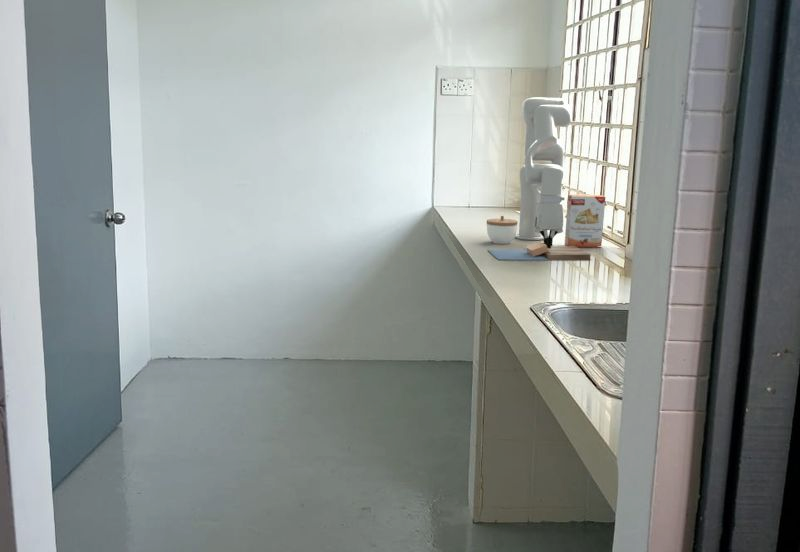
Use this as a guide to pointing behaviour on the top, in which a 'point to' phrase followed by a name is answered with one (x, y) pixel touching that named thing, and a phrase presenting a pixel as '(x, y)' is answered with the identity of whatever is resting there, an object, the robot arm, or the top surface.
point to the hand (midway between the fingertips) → (547, 247)
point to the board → (566, 253)
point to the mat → (515, 255)
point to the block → (537, 248)
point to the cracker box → (584, 220)
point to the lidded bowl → (501, 230)
